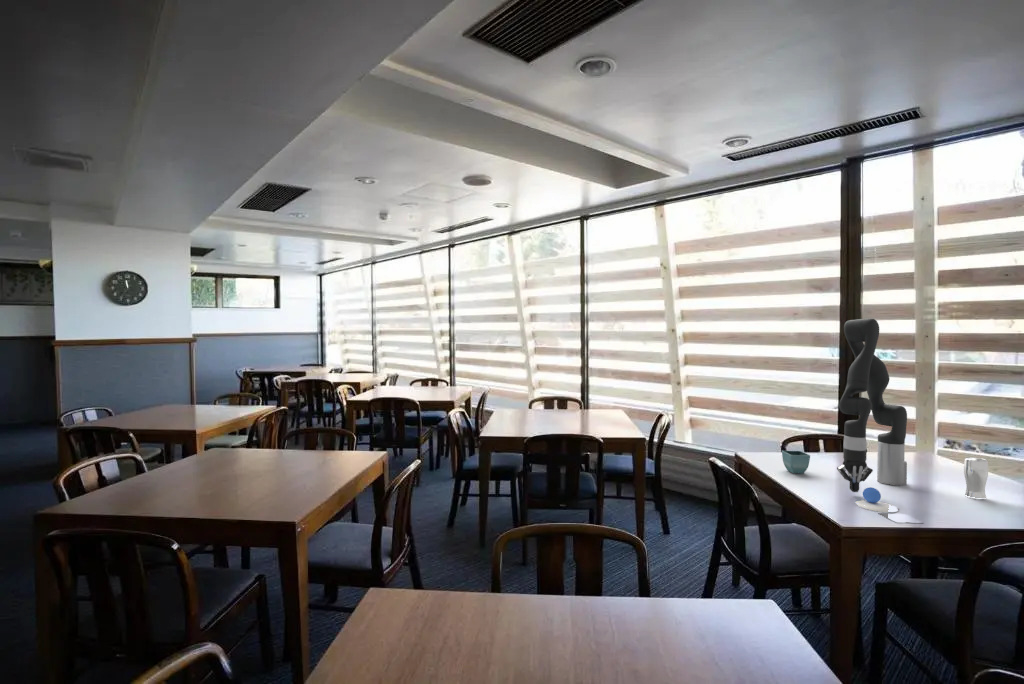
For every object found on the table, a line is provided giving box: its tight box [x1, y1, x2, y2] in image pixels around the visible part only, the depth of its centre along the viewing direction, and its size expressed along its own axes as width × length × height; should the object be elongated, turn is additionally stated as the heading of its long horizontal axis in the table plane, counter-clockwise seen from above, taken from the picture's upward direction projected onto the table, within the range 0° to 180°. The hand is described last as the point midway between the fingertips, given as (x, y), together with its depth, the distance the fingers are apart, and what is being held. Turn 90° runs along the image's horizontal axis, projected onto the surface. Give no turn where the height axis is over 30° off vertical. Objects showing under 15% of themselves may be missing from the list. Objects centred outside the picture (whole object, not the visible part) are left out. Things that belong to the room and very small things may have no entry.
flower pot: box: [781, 450, 811, 474], centre depth 233 cm, size 9×9×9 cm
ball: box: [862, 487, 882, 503], centre depth 191 cm, size 6×6×6 cm
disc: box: [855, 499, 893, 513], centre depth 186 cm, size 13×13×1 cm
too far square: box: [877, 512, 888, 519], centre depth 174 cm, size 9×9×1 cm
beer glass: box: [963, 456, 989, 499], centre depth 196 cm, size 7×7×15 cm
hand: (854, 491), depth 199 cm, fingers closed
